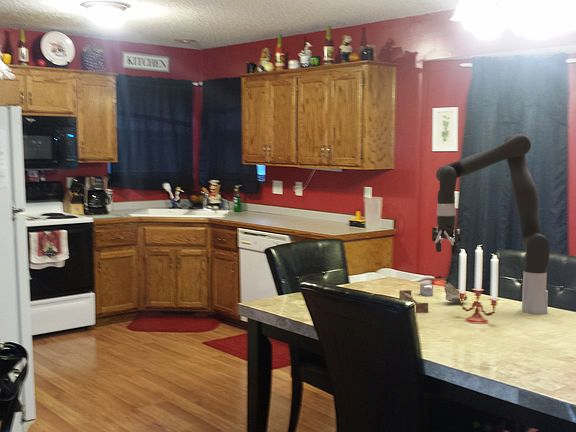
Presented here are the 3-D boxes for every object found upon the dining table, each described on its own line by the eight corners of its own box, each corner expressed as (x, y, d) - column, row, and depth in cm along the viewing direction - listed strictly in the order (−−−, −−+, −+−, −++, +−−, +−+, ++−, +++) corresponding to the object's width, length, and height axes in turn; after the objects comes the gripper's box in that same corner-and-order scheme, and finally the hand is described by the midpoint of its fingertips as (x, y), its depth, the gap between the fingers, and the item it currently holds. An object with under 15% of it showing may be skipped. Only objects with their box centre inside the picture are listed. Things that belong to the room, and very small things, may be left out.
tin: (427, 293, 317) (427, 283, 316) (435, 296, 311) (435, 285, 311) (417, 294, 314) (417, 284, 314) (424, 297, 309) (425, 286, 308)
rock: (447, 298, 290) (443, 281, 297) (442, 307, 293) (438, 290, 301) (471, 302, 291) (467, 285, 299) (466, 311, 295) (462, 294, 302)
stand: (410, 298, 305) (410, 288, 304) (428, 312, 278) (428, 301, 277) (399, 299, 304) (399, 289, 304) (415, 313, 277) (416, 302, 277)
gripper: (465, 214, 275) (465, 254, 276) (440, 212, 287) (440, 250, 288) (452, 216, 271) (452, 255, 272) (427, 213, 283) (427, 252, 284)
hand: (446, 252), depth 280 cm, fingers open, 8 cm apart
